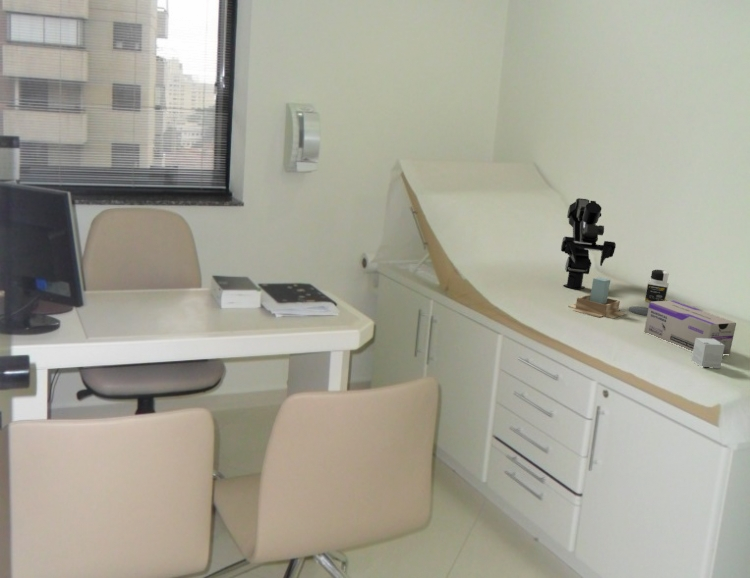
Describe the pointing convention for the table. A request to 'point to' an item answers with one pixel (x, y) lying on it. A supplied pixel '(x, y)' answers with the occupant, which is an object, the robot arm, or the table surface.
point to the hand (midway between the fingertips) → (588, 263)
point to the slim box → (600, 290)
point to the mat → (639, 310)
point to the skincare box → (708, 352)
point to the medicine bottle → (657, 286)
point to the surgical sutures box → (687, 325)
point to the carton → (597, 307)
